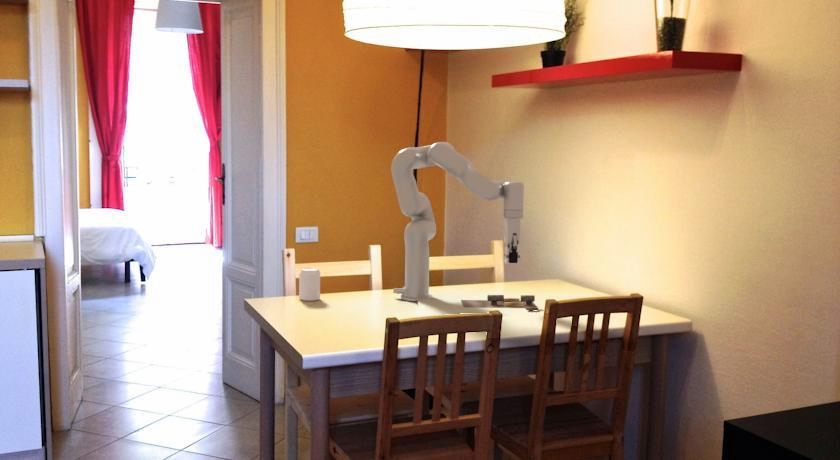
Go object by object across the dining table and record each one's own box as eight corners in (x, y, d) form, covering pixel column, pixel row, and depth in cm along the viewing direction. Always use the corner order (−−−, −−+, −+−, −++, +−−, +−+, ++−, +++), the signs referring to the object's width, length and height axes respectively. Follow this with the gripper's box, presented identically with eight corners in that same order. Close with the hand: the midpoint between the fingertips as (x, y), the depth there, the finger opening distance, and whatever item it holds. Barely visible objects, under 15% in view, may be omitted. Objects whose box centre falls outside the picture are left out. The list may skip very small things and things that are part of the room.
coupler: (506, 264, 301) (506, 248, 301) (504, 262, 307) (504, 246, 306) (519, 264, 302) (520, 248, 301) (517, 262, 307) (518, 246, 306)
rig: (464, 310, 299) (464, 297, 298) (460, 302, 312) (461, 290, 311) (538, 311, 300) (538, 298, 300) (531, 303, 313) (532, 291, 313)
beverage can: (322, 297, 316) (322, 267, 314) (317, 302, 308) (317, 271, 306) (301, 296, 316) (302, 267, 315) (296, 301, 308) (296, 270, 307)
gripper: (500, 212, 310) (499, 258, 312) (506, 216, 293) (505, 265, 295) (519, 212, 311) (518, 258, 313) (526, 216, 294) (525, 265, 296)
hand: (512, 261), depth 304 cm, fingers closed on coupler, 5 cm apart
